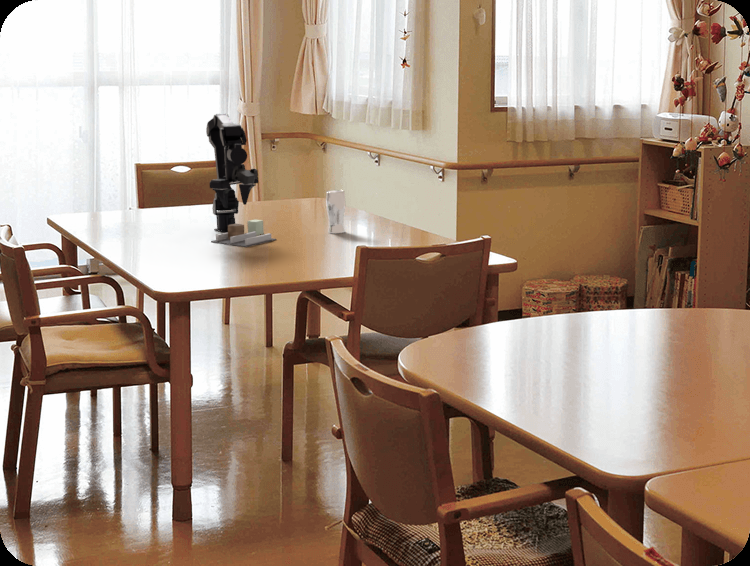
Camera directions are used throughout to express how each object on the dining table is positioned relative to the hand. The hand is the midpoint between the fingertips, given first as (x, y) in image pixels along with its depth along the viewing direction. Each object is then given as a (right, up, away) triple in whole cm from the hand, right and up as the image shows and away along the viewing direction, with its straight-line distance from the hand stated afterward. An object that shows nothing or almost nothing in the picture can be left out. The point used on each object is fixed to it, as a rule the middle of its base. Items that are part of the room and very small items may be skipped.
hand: (235, 206), depth 332 cm
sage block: (+5, -9, +13) cm, 17 cm away
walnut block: (0, -11, +2) cm, 12 cm away
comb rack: (+3, -12, 0) cm, 12 cm away
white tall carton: (+35, -9, +14) cm, 38 cm away
